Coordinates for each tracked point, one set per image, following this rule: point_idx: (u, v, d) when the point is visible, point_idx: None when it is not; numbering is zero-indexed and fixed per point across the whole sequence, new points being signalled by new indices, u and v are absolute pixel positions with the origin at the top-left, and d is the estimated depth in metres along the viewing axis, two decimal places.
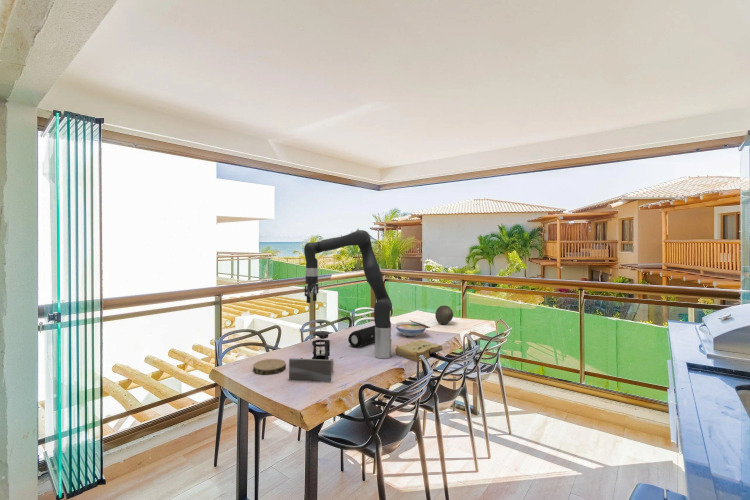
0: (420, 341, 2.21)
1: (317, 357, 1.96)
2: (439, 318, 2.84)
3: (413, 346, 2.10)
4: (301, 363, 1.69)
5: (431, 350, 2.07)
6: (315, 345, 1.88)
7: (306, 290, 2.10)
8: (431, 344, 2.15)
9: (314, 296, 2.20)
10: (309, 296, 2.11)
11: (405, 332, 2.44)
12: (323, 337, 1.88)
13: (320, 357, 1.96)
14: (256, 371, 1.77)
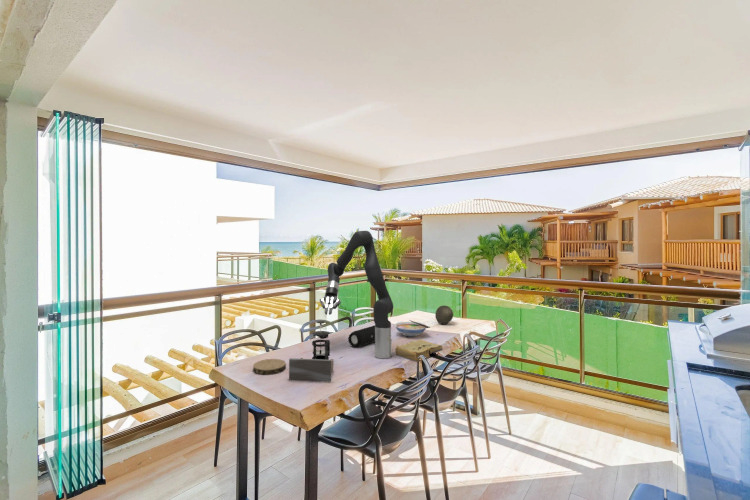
0: (420, 341, 2.21)
1: (317, 357, 1.96)
2: (439, 318, 2.84)
3: (413, 346, 2.11)
4: (301, 363, 1.69)
5: (431, 350, 2.07)
6: (315, 345, 1.88)
7: (321, 303, 2.12)
8: (431, 344, 2.15)
9: None
10: (325, 307, 2.09)
11: (405, 332, 2.44)
12: (323, 337, 1.88)
13: (320, 357, 1.96)
14: (256, 371, 1.77)
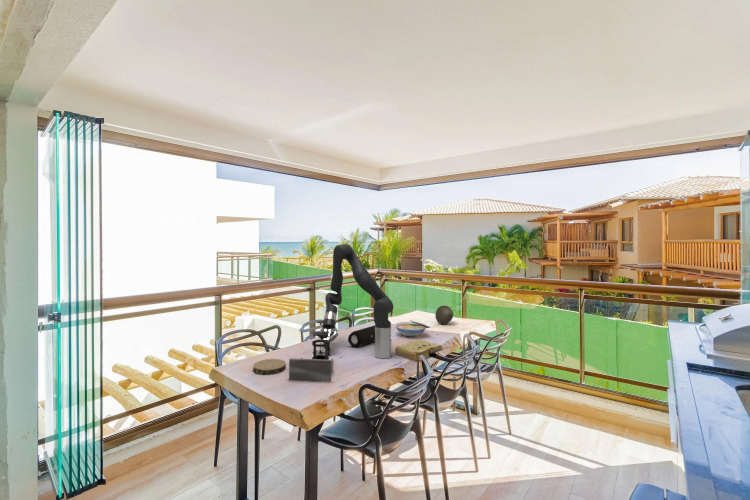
0: (420, 341, 2.21)
1: (317, 357, 1.96)
2: (439, 318, 2.84)
3: (413, 346, 2.11)
4: (301, 363, 1.69)
5: (431, 350, 2.07)
6: (315, 345, 1.88)
7: None
8: (431, 344, 2.15)
9: None
10: (323, 339, 2.05)
11: (405, 332, 2.44)
12: (323, 337, 1.88)
13: (320, 357, 1.96)
14: (256, 371, 1.77)
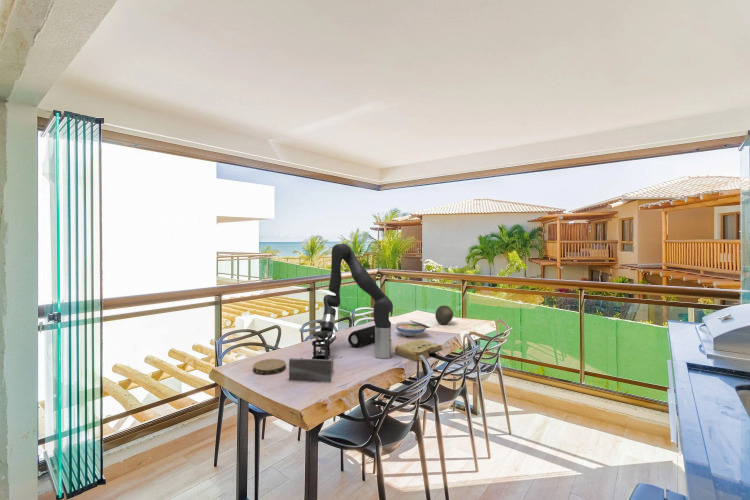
0: (420, 341, 2.21)
1: (317, 357, 1.95)
2: (439, 318, 2.84)
3: (413, 346, 2.11)
4: (301, 363, 1.69)
5: (431, 350, 2.07)
6: (315, 345, 1.88)
7: (316, 339, 2.02)
8: (431, 344, 2.15)
9: None
10: (321, 343, 1.99)
11: (405, 332, 2.44)
12: (323, 337, 1.88)
13: (320, 357, 1.96)
14: (256, 371, 1.77)
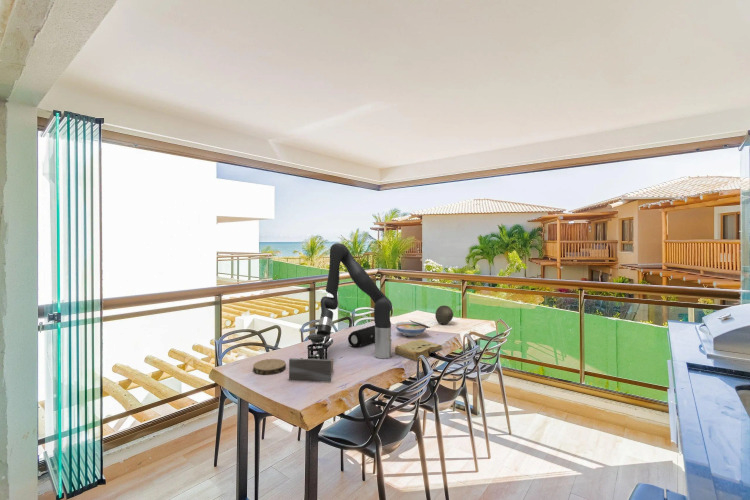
0: (420, 341, 2.21)
1: None
2: (439, 318, 2.84)
3: (413, 346, 2.11)
4: (301, 363, 1.69)
5: (431, 350, 2.07)
6: (309, 349, 1.81)
7: (312, 343, 1.94)
8: (431, 344, 2.15)
9: None
10: (317, 347, 1.91)
11: (405, 332, 2.44)
12: (317, 341, 1.80)
13: None
14: (256, 371, 1.77)
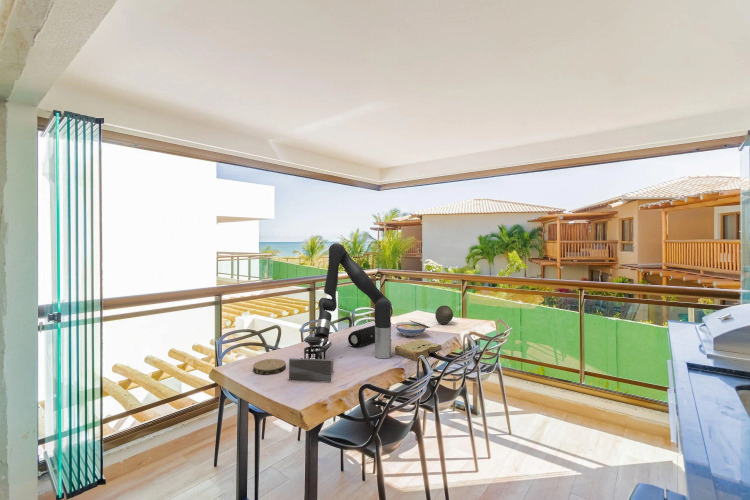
0: (420, 341, 2.22)
1: None
2: (439, 318, 2.84)
3: (412, 345, 2.12)
4: (301, 363, 1.69)
5: (430, 350, 2.08)
6: (305, 351, 1.77)
7: None
8: (430, 344, 2.16)
9: None
10: (315, 350, 1.86)
11: (405, 332, 2.44)
12: (313, 344, 1.75)
13: None
14: (256, 371, 1.77)
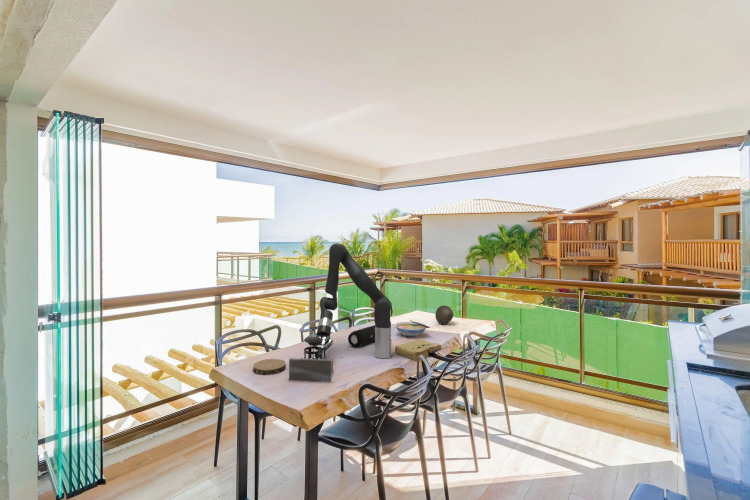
0: (419, 340, 2.22)
1: None
2: (439, 318, 2.84)
3: (412, 345, 2.12)
4: (301, 363, 1.69)
5: (430, 349, 2.08)
6: (305, 352, 1.77)
7: None
8: (430, 343, 2.16)
9: None
10: None
11: (405, 332, 2.44)
12: (312, 344, 1.75)
13: None
14: (256, 371, 1.77)
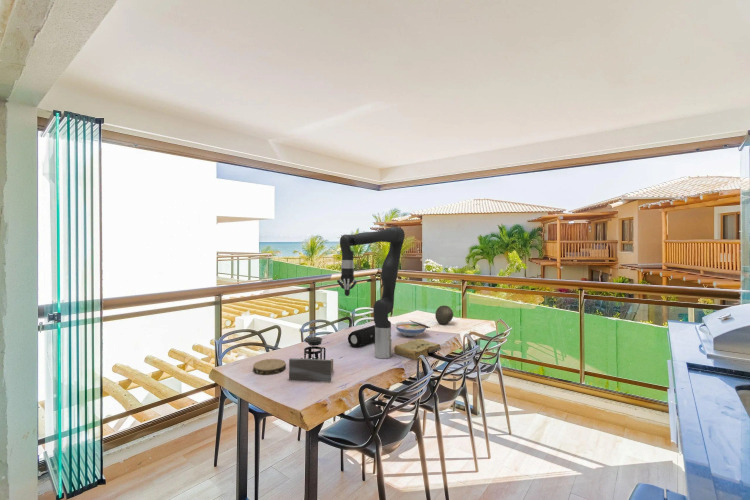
0: (419, 340, 2.23)
1: None
2: (439, 318, 2.84)
3: (412, 345, 2.12)
4: (301, 363, 1.69)
5: (429, 349, 2.09)
6: (305, 352, 1.77)
7: None
8: (429, 343, 2.17)
9: None
10: (344, 289, 2.17)
11: (405, 332, 2.44)
12: (312, 344, 1.75)
13: None
14: (256, 371, 1.77)
